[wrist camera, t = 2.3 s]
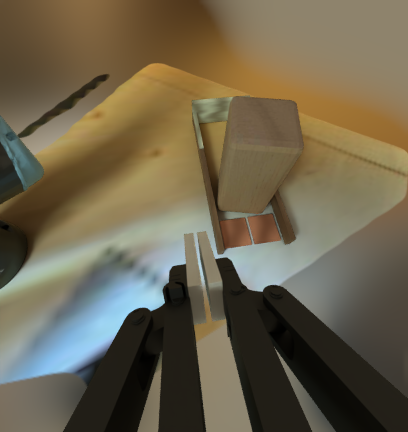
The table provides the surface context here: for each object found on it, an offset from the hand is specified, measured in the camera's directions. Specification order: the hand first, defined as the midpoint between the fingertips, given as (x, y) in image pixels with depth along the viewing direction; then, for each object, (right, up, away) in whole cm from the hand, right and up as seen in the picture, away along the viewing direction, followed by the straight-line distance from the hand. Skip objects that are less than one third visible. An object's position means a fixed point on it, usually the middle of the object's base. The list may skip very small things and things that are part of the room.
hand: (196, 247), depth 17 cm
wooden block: (+9, +8, +28) cm, 31 cm away
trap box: (+8, +13, +30) cm, 34 cm away
